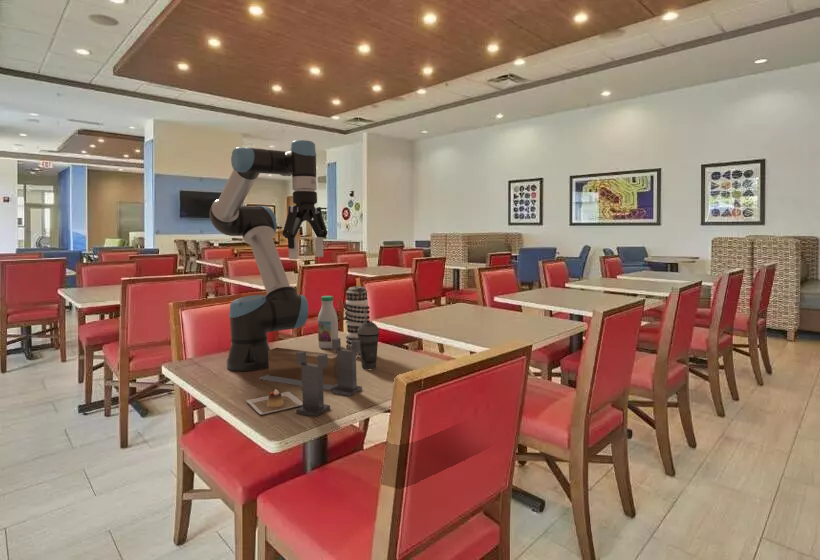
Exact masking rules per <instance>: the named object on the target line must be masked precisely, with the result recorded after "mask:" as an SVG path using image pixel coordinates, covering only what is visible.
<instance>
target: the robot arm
mask: <svg viewBox="0 0 820 560" xmlns="http://www.w3.org/2000/svg"><path fill="white" fill-rule="evenodd" d="M316 151H317V150H316V143H315V142H313V141H311V140H308V139H307V140H304V139H297V140H293V141H291V145H290V150H289V151H288V150H287V151H285V150H276V149H275V150H273V149H264V148H255V147H249V146H245V147H242V146H239V147H238V146H237V147H235V148H233V150H232V152H231V155H230V156H231V157H230V160H231V161H230V163H231V167H232V169H233V170H232V172H231V173H230V176H229V177H228V179H227V181H226V183H225V185H224V187H223V190H222V192H221V194H220V195H219V198H218V199H216V200H214V201H213V202H212V205H211V206H210V208H209V220H210V221H211V224H212V226H213V227H214V228H215V229H216V230H217V231H218V232H220V233H221V234H223V235H225V236H229V237H243V241H244V242H245V243H246V245H250V248H251V251H252V254H253V257H254V260H255V262H256V266H257V268H258V272H259V273H260V275H259V276H260V277H261V280H262V283H263V285H264V289H265V292H266V294H265V295H264V294H254V295H247V296H246V295H245V296H243V297H239V298H236V299H233V300H232V301H231V303H230V304H229V313H228V316H229V323H230V343H231V345H230V348H229V352H228V357H227V359H226V368H227V369H228V370H231V371H234V370H235V372H249V371H250V370H252V371H257V370H258V369H259V370H263V369H266V368H269V363H268V350H271V349H270V346H269V342H268V333H272V332H280V331H286V330H294V329H299V328H302V327H304V325H305V324H306V322H307V321H308V317H309V303H308V299H307V297H306V296H305V295H303V294H298V291H297V289H296V287H294V286H292V285H290V282H289V280H288V277H287V275H286V271H285V268H284V266H283V263H282V261H281V258H280V255H279V253H278V249H277V247H276V244H275V242H274V239H273V238H274V237H275V234H276V232H277V229H278V227H277V225H278V223H277V217H276V215H275V212H274V211H273V209H271V208H270V207H268V206H264V205H258V204H257V205H243V202H244V201H245V199H246V197H247V196H248V195H249V192H250V191H251V189H252V188H253V185H254V183H255V182H256V181H257V178H258V177H259V176H260V174H265V175H267V174H269V175H270V174H271V175H279V176H281V177H282V176H283V177H292V178H291V180H292V181H291V183H292V184H291V185H292V191H293V192H292V203H293V204H295V205H289V206H288V211H287V216H286V218H285V219H286V220H285V224H284V226H283V230H282V237H284V238H285V239H287V247H288V248H287V249H288V259H289V260H298V259H299V256H298V255H299V253H298V238H297V237H296V236H297V234H298V232H299V230H300V228H301V226H302V223H303V222H307V223H309V225H310V227H311V228H312V230H313V233H314V234H315V236H316V237H314V251H315V252H314V253H315V256H314V257H316V258H324V238H326V237H327V235H328V231H327V227H326V224H325V220H324V217H323V214H322V207H321V206H316V207H315V204H317V203H318V192H317V153H316Z"/></svg>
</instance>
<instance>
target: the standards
mask: <svg viewBox="0 0 820 560" xmlns="http://www.w3.org/2000/svg"><path fill="white" fill-rule="evenodd" d="M341 344H342V343H341V338H340V337H338V338H334V339H332V348H331V349H332V351H336V355H337V376H338V387H336V388H334V389H332V390H331V392H332V394H334V395H338V396H339V395H341V396H345V397H346V396H347V397H352V396H354V395H355V393H356V394H358V393H359V392H361V391H362V390H363V388H362V387H363V386H360V385H357V358H356V353H357V352H359V351H360V340H354V341H352V350H348V349H347V348H341V346H342V345H341ZM306 351H307V350H301V351H300V352H297V353H296V361H297V365H301V366H302V386H301V390H302V392H301V393H302V402H303V406H299V408H297V409H296V410H295V411H296V415H297V414H298V415H301V416H302V415H303V416H307V417H308V416H309V417H312V418H318V417H320V415H322V414H324V413H326V412H327V411H329V410H331V405H330V404H327V403H326V404H325V402H324V401H325V398H324V397H325V395H324V389H323V368H324V367H326V366H328V361H327V354H328V353H326V354H323V353H324V352H321V353H322V354H320V355H318V364H310V363H306ZM360 390H361V391H360Z"/></svg>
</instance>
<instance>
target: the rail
mask: <svg viewBox="0 0 820 560" xmlns="http://www.w3.org/2000/svg"><path fill="white" fill-rule="evenodd" d="M300 351H302V349H301V350H300V349H292V348H286V347H285V348H284V347H283V348H282V347H274V348H271V349H270V350H268V363H269V367H268V374H269V375H270V376H276V377H283V378H289V379H296V380H302V366H301V365H297V361H296V353H297V352H300ZM305 351H306V363H310V364H318V355H320V354H322V353H323V354H327V361H328V366H326V367H324V368H323V384H329V385H335V384H337V383H338V376H337V354H334V353H326V352H317V351H309V350H305Z"/></svg>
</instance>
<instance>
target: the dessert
mask: <svg viewBox="0 0 820 560" xmlns="http://www.w3.org/2000/svg"><path fill="white" fill-rule="evenodd" d="M283 397H287V398H288V399H289V400H291V401H292V402H294V403H295V405H292V406H289V407H288V406H287V407H284V408H280V407H282V406H284V405H285V402H284V398H283ZM245 401H246V402H247V403H248V404H249V405H250V406H251V408H252V409H254V411H256V412H257V413H258V415H260V416H263V415H267V414H273V413H277V412H281V411H285V410H286V411H287V410H290V409H295V408H298V407H299V408H300V407H302V406H303V400H301V399H299V398H298V397H297V396H295V394H293V393H292V392H290V391H284V392H280V391H279V390H278V389H276V388H275V389H274V391H270V393H269V395H265V396H261V397H257V398H252V399H246V400H245ZM263 401H267V402H266V407H267V408H280V409H276V410H271V411H266V412H262V411H261V410H260V409H259V407H257V406H256V404H254V403H258V402H263ZM296 404H297V405H296Z"/></svg>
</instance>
